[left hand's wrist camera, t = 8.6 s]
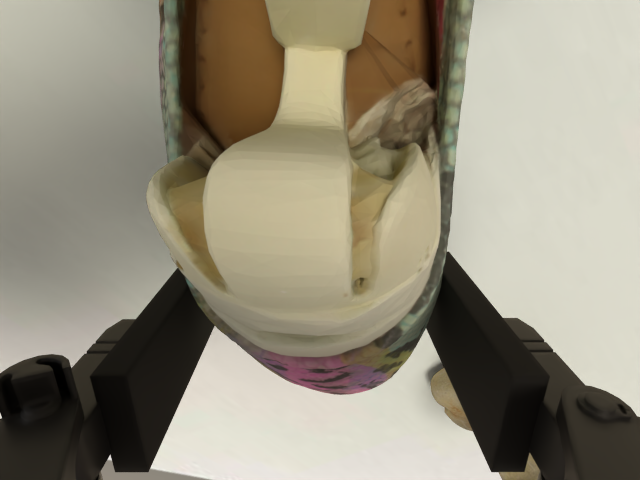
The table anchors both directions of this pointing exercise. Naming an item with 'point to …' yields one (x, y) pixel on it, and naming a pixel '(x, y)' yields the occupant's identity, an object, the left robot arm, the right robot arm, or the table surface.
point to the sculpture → (455, 412)
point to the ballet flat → (312, 174)
